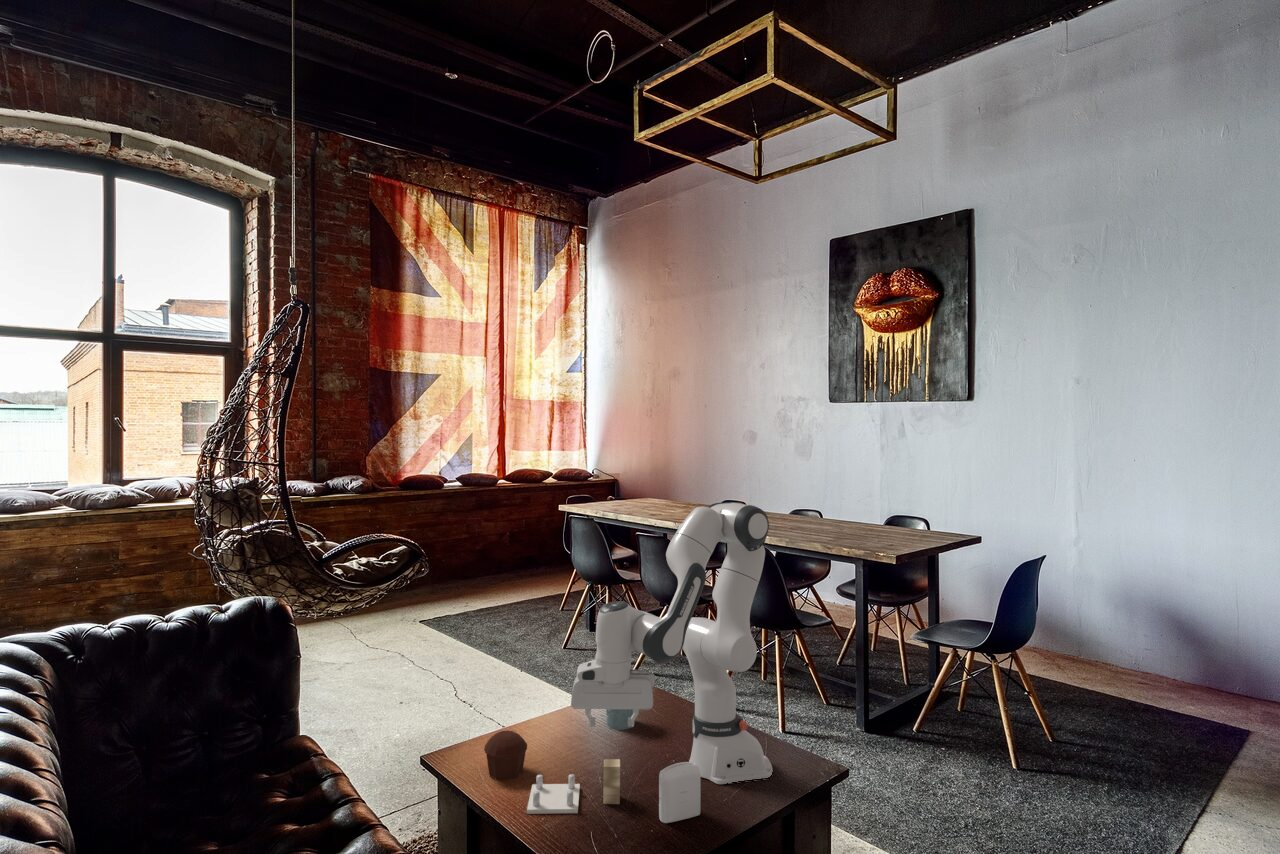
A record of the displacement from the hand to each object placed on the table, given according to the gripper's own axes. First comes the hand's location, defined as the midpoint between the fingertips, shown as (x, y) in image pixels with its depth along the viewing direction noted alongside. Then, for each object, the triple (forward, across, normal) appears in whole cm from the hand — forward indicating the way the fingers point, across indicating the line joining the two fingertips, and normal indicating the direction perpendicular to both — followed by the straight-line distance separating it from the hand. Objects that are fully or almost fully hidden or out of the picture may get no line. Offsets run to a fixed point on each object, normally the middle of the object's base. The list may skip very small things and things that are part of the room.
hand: (611, 726), depth 173 cm
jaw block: (+18, 0, 0) cm, 18 cm away
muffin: (+18, +28, -15) cm, 37 cm away
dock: (+18, +14, 0) cm, 23 cm away
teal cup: (+18, -3, -45) cm, 49 cm away
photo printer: (+18, -16, +8) cm, 26 cm away
